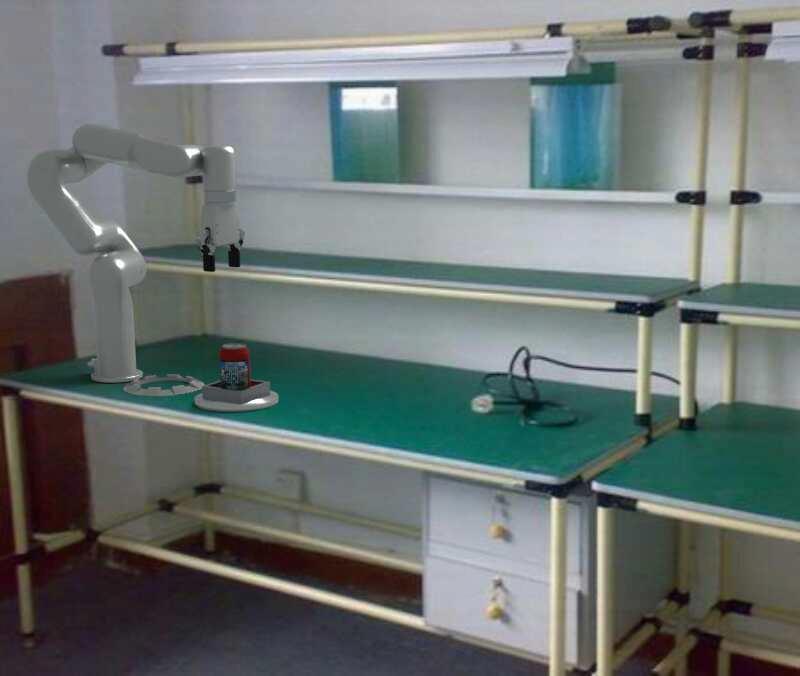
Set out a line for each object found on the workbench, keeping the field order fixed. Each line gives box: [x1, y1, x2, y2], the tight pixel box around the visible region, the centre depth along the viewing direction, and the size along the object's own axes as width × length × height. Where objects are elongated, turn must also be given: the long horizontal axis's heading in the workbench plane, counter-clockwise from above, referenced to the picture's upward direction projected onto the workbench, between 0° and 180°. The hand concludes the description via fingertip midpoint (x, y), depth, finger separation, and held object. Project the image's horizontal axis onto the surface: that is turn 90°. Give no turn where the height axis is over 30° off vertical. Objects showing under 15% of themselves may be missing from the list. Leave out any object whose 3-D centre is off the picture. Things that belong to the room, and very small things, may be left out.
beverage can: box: [219, 342, 251, 390], centre depth 259 cm, size 7×7×12 cm
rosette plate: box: [194, 378, 279, 413], centre depth 260 cm, size 19×19×4 cm
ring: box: [122, 374, 206, 397], centre depth 276 cm, size 19×19×2 cm
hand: (222, 269), depth 274 cm, fingers open, 9 cm apart
